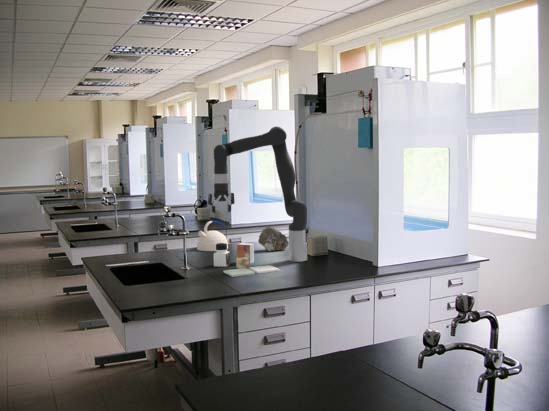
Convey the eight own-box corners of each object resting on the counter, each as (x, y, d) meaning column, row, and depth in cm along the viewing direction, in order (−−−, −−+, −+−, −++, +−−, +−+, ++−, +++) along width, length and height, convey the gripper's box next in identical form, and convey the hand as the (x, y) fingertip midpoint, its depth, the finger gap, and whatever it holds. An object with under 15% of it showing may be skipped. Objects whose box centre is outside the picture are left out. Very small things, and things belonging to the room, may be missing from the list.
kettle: (189, 249, 356) (189, 221, 354) (215, 245, 370) (215, 218, 368) (208, 252, 341) (207, 223, 339) (235, 248, 355) (234, 220, 353)
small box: (237, 263, 305) (236, 244, 305) (241, 261, 311) (240, 242, 310) (250, 264, 302) (249, 244, 302) (254, 262, 308) (254, 243, 307)
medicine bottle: (226, 266, 296) (225, 244, 295) (213, 266, 298) (213, 244, 297) (230, 264, 303) (229, 242, 302) (217, 263, 305) (217, 242, 304)
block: (245, 266, 296) (244, 257, 296) (248, 268, 292) (248, 258, 291) (236, 267, 294) (236, 258, 293) (240, 269, 289) (239, 259, 289)
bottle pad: (245, 269, 287) (245, 268, 287) (254, 274, 276) (254, 272, 276) (223, 272, 282) (223, 270, 282) (232, 276, 271) (232, 274, 271)
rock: (271, 224, 334) (267, 217, 348) (255, 242, 335) (251, 234, 349) (293, 243, 339) (288, 235, 354) (277, 260, 340) (273, 252, 355)
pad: (269, 267, 293) (269, 265, 293) (279, 271, 282) (279, 269, 282) (248, 269, 288) (248, 267, 288) (258, 273, 277) (258, 271, 277)
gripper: (230, 181, 303) (231, 211, 304) (206, 182, 297) (206, 212, 298) (236, 182, 296) (236, 212, 298) (210, 183, 290) (211, 213, 291)
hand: (221, 212), depth 298 cm, fingers open, 8 cm apart
